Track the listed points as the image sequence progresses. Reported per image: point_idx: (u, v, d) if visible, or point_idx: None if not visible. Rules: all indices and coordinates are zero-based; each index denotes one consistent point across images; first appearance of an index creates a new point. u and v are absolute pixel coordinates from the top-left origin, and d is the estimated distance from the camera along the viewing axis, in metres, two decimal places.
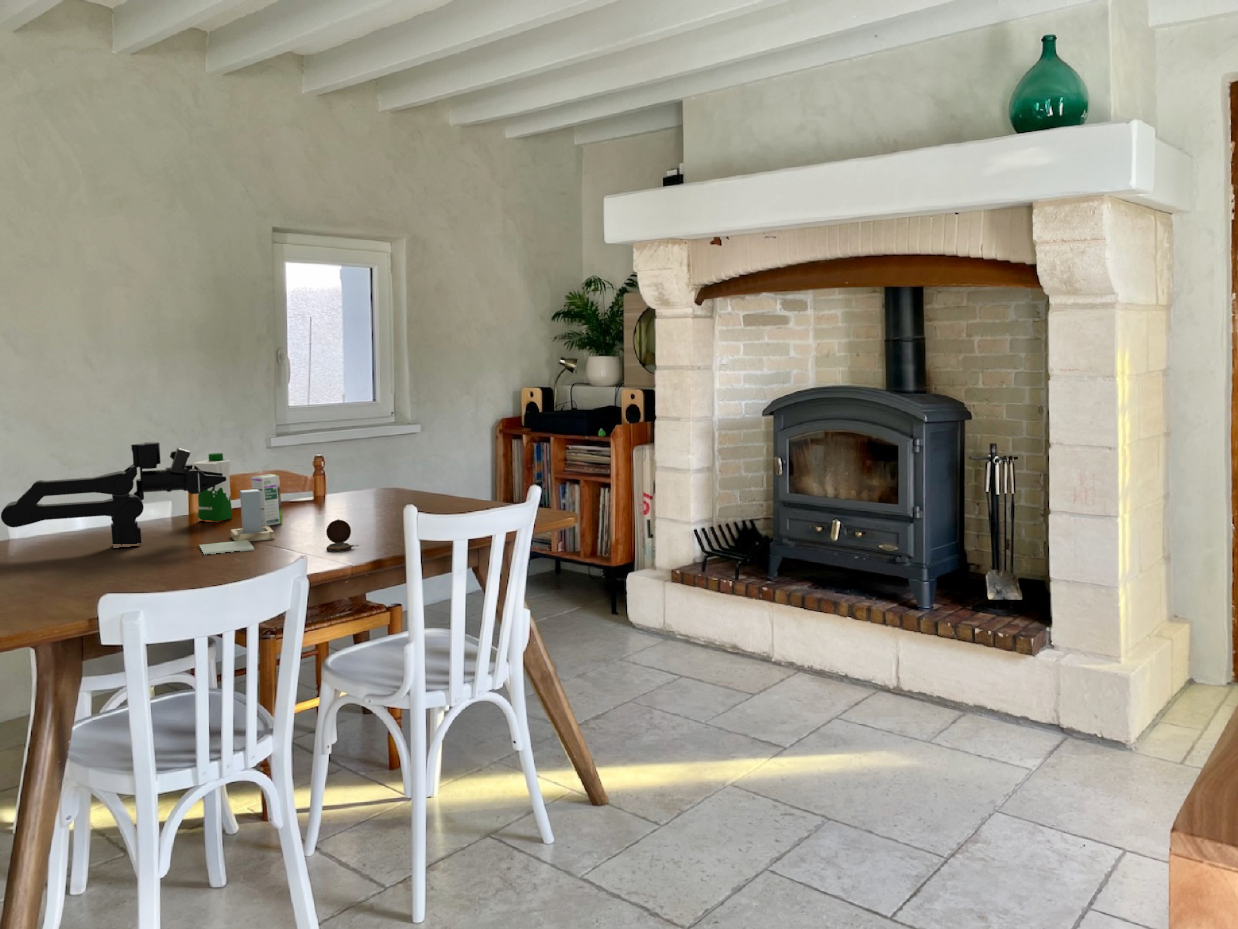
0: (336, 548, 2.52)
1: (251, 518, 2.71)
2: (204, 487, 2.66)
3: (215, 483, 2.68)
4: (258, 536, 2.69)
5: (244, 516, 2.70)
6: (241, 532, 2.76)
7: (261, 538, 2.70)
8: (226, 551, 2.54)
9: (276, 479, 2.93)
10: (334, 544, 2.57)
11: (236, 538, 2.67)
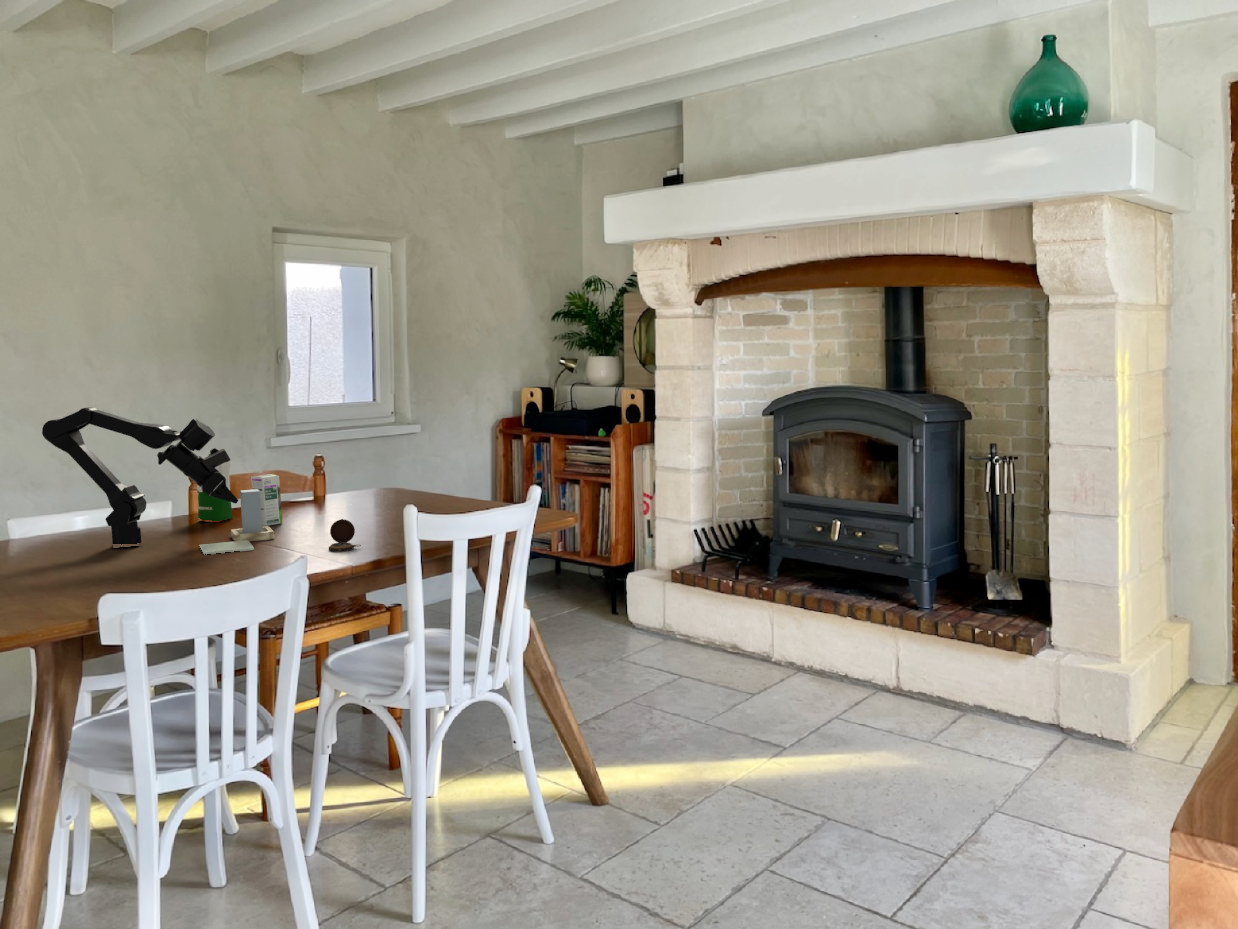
0: (337, 548, 2.53)
1: (251, 518, 2.71)
2: (215, 494, 2.62)
3: (226, 498, 2.64)
4: (258, 536, 2.69)
5: (244, 516, 2.70)
6: (241, 532, 2.76)
7: (261, 538, 2.70)
8: (226, 551, 2.54)
9: (276, 479, 2.93)
10: (337, 544, 2.57)
11: (236, 538, 2.67)
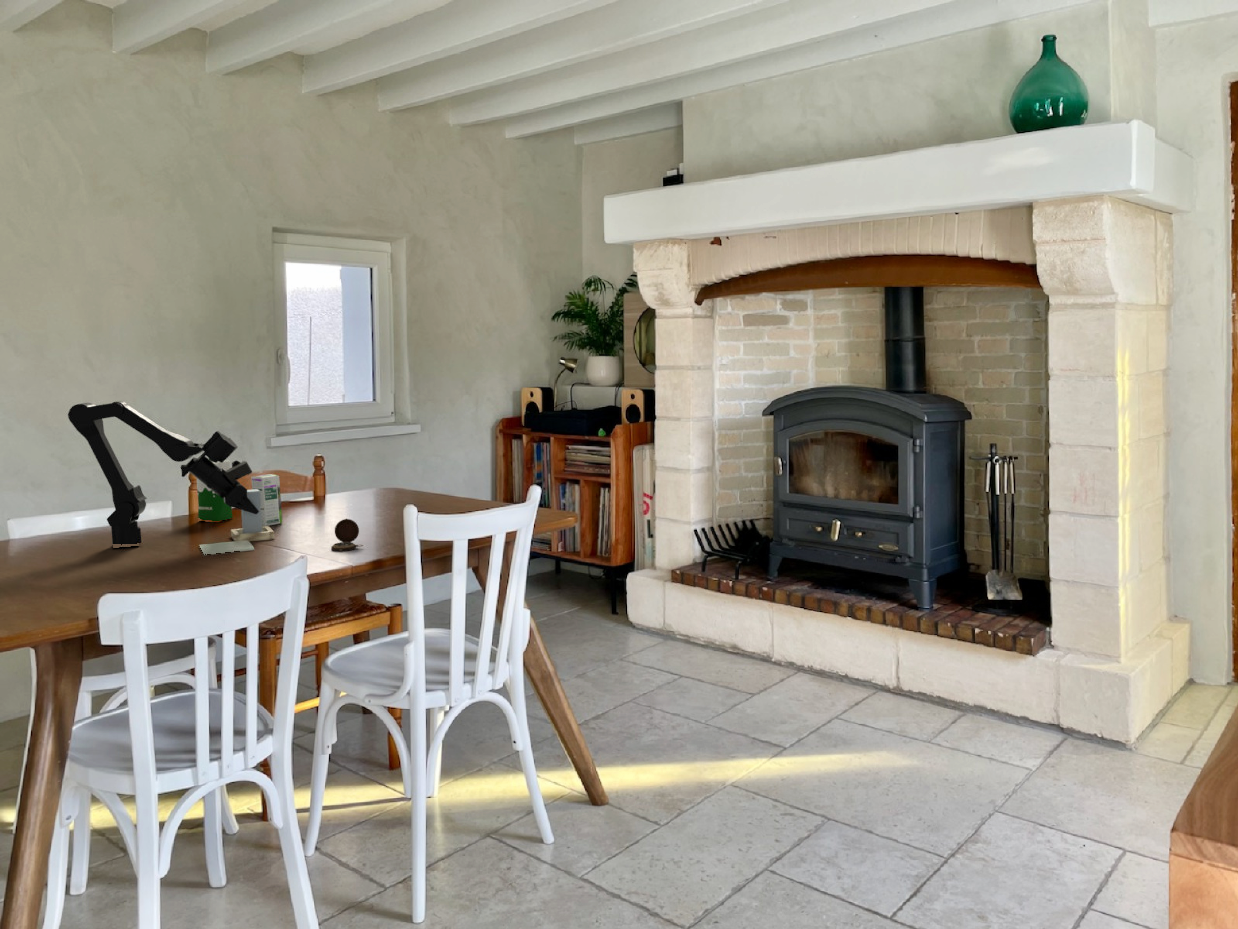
0: (338, 547, 2.53)
1: (251, 518, 2.71)
2: (237, 505, 2.67)
3: (247, 509, 2.69)
4: (258, 536, 2.69)
5: (244, 516, 2.70)
6: (241, 532, 2.76)
7: (261, 538, 2.70)
8: (226, 551, 2.54)
9: (276, 479, 2.93)
10: (341, 543, 2.58)
11: (236, 538, 2.67)
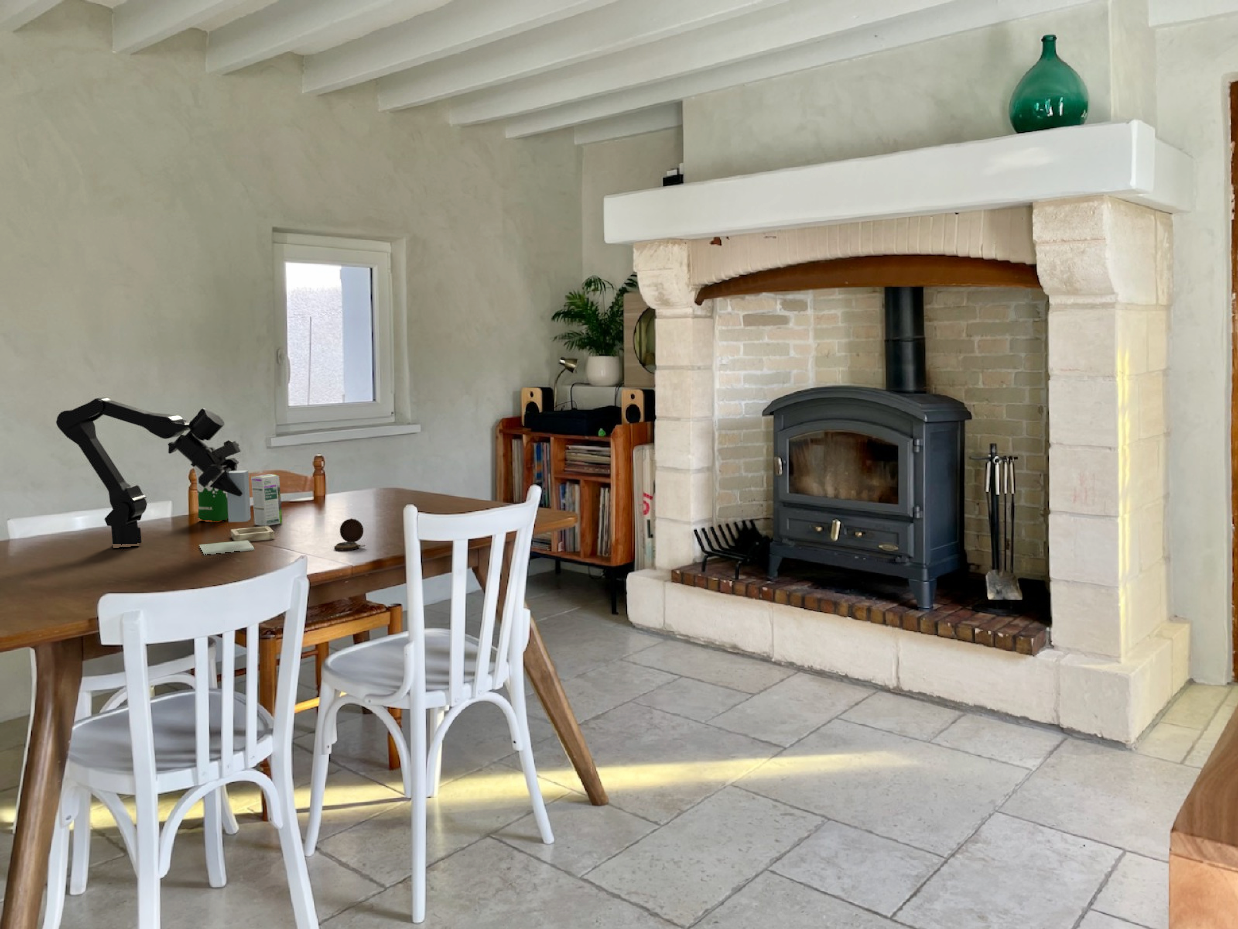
0: (340, 547, 2.54)
1: (235, 500, 2.62)
2: (217, 486, 2.59)
3: (229, 491, 2.60)
4: (258, 536, 2.69)
5: (228, 497, 2.62)
6: (241, 532, 2.76)
7: (261, 538, 2.70)
8: (226, 551, 2.54)
9: (276, 479, 2.93)
10: (345, 543, 2.58)
11: (236, 538, 2.67)
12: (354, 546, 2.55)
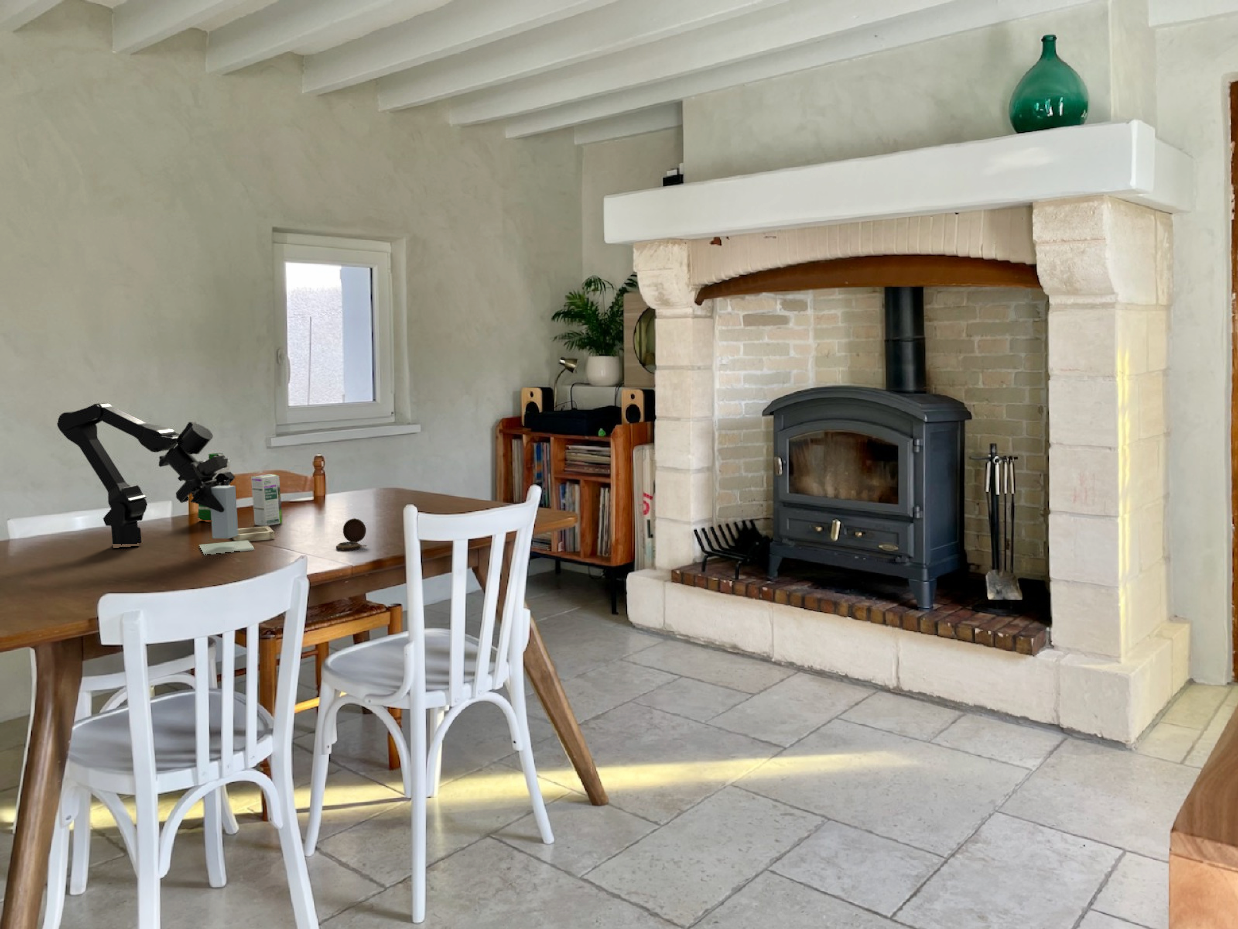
0: (341, 547, 2.54)
1: (218, 516, 2.56)
2: (199, 501, 2.54)
3: (210, 506, 2.55)
4: (258, 536, 2.69)
5: (211, 513, 2.56)
6: (241, 532, 2.76)
7: (261, 538, 2.70)
8: (226, 551, 2.54)
9: (276, 479, 2.93)
10: (347, 543, 2.58)
11: (236, 538, 2.67)
12: (355, 546, 2.55)
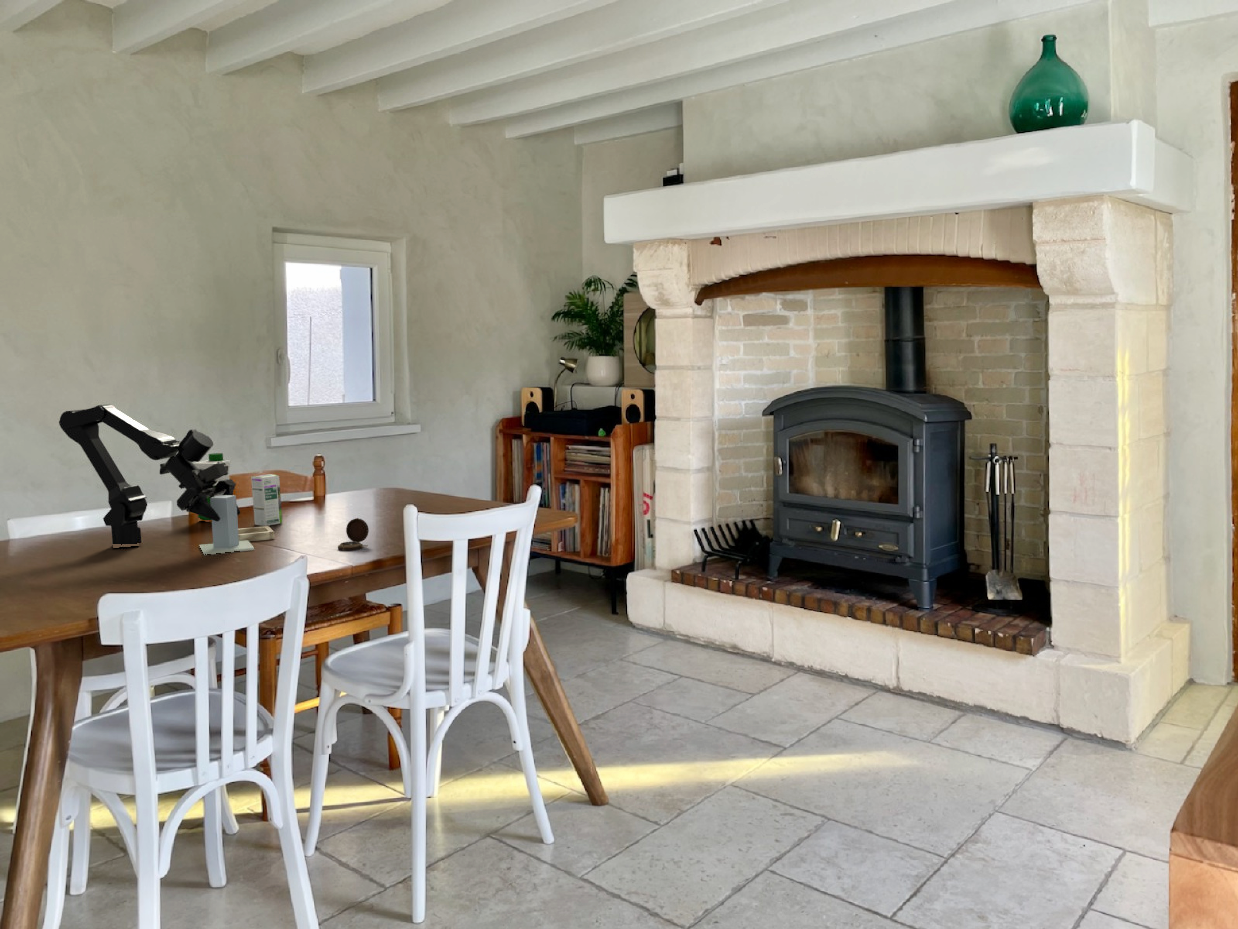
0: (342, 547, 2.54)
1: (219, 525, 2.56)
2: (195, 510, 2.52)
3: (206, 515, 2.53)
4: (258, 536, 2.69)
5: (212, 523, 2.57)
6: (241, 532, 2.76)
7: (261, 538, 2.70)
8: (226, 551, 2.54)
9: (276, 479, 2.93)
10: (350, 542, 2.59)
11: None
12: (356, 546, 2.55)
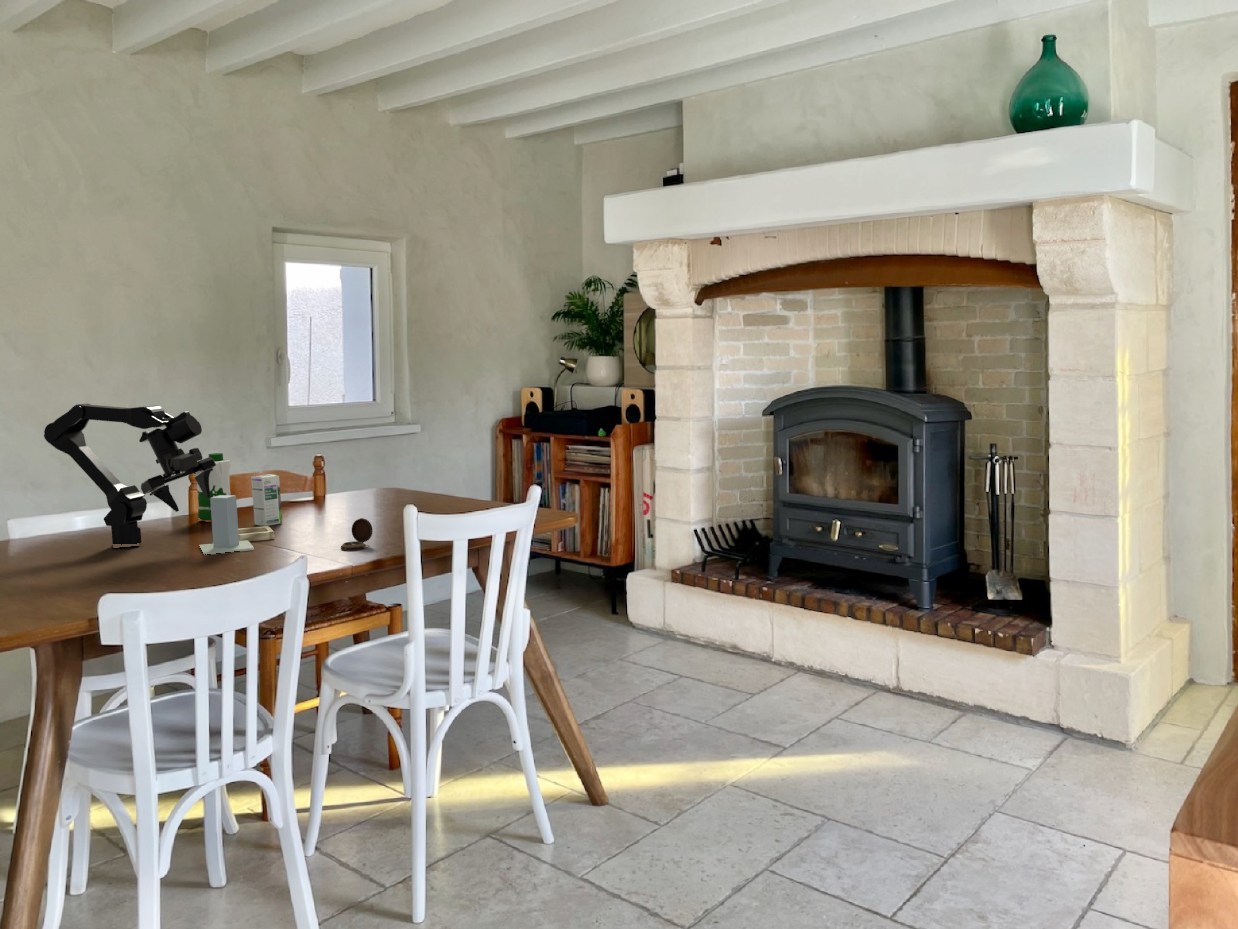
0: (344, 546, 2.54)
1: (219, 525, 2.56)
2: (158, 495, 2.57)
3: (167, 503, 2.57)
4: (258, 536, 2.69)
5: (212, 523, 2.57)
6: (241, 532, 2.76)
7: (261, 538, 2.70)
8: (226, 551, 2.54)
9: (276, 479, 2.93)
10: (354, 542, 2.59)
11: None
12: (358, 546, 2.55)
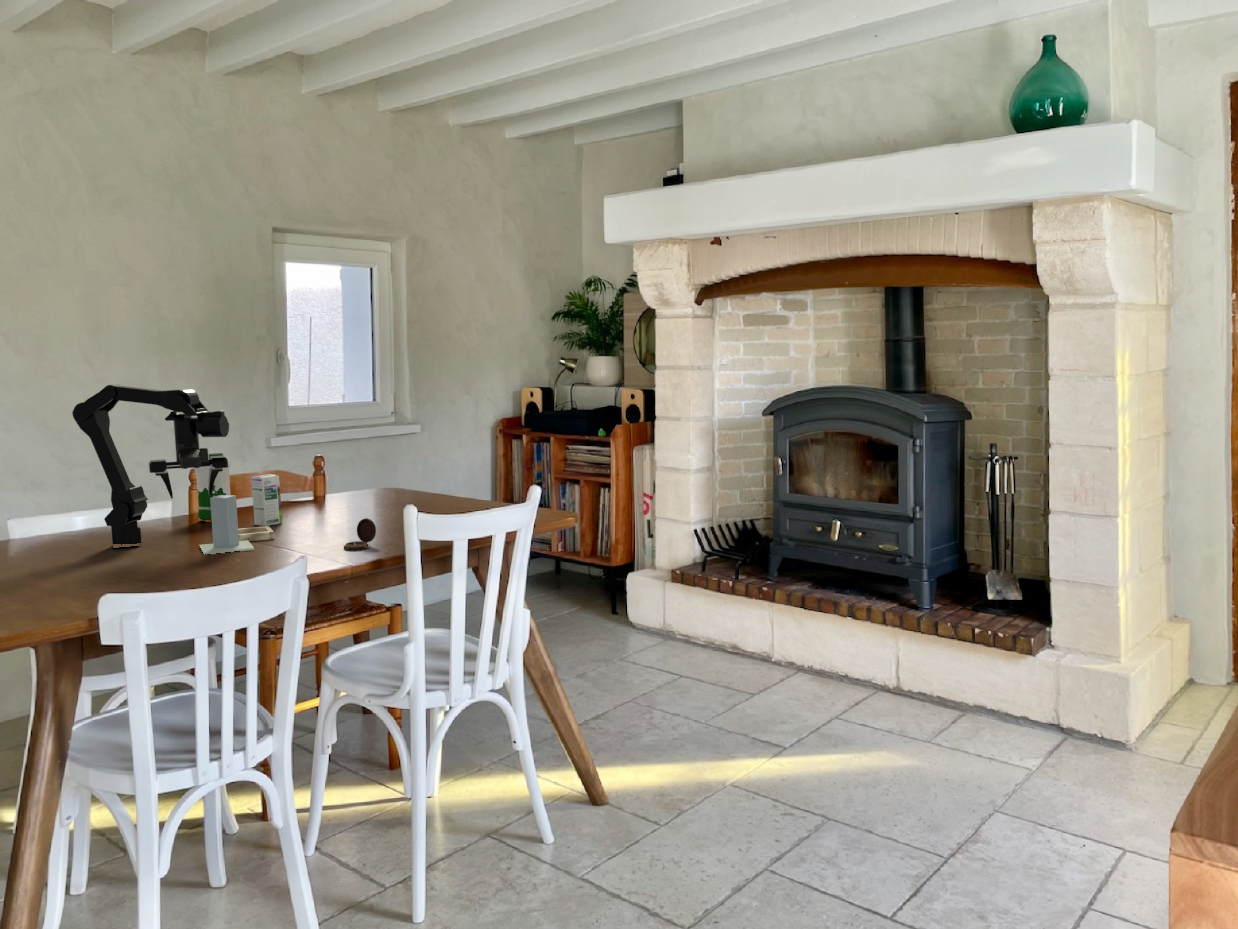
0: (346, 546, 2.55)
1: (219, 525, 2.56)
2: None
3: None
4: (258, 536, 2.69)
5: (212, 523, 2.57)
6: (241, 532, 2.76)
7: (261, 538, 2.70)
8: (226, 551, 2.54)
9: (276, 479, 2.93)
10: (358, 542, 2.59)
11: None
12: (359, 546, 2.54)
